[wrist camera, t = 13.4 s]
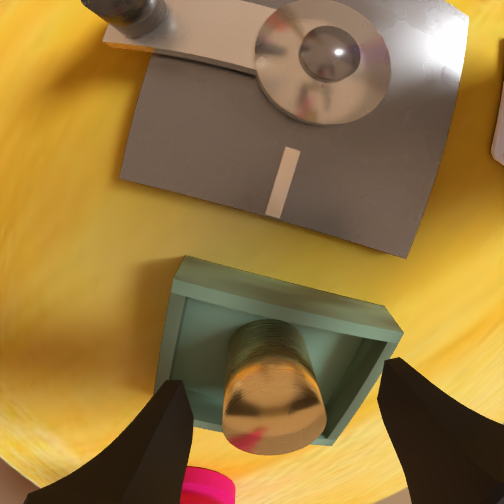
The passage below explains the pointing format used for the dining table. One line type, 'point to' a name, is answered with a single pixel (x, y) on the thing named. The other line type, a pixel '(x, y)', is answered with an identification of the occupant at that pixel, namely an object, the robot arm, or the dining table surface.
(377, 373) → the tray
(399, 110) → the crank base
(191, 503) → the pepper mill
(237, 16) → the crank
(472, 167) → the dining table surface
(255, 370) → the pin
